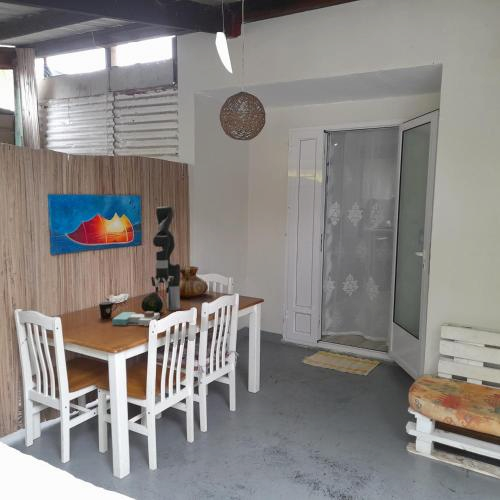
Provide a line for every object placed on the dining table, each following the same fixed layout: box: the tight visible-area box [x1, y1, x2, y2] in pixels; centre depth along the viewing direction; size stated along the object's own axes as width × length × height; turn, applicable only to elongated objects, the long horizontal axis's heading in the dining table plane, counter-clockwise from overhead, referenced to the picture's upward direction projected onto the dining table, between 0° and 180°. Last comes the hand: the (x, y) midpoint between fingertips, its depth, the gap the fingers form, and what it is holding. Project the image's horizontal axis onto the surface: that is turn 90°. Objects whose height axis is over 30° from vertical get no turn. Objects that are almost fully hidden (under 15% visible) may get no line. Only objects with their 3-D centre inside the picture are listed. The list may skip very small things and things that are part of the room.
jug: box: [180, 265, 209, 299], centre depth 370 cm, size 30×30×25 cm
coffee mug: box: [98, 300, 118, 320], centre depth 303 cm, size 12×9×10 cm
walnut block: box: [143, 311, 155, 317], centre depth 292 cm, size 5×5×2 cm
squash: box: [141, 291, 164, 313], centre depth 316 cm, size 14×15×15 cm
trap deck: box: [112, 311, 161, 327], centre depth 293 cm, size 18×25×4 cm
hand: (162, 292), depth 289 cm, fingers open, 6 cm apart
